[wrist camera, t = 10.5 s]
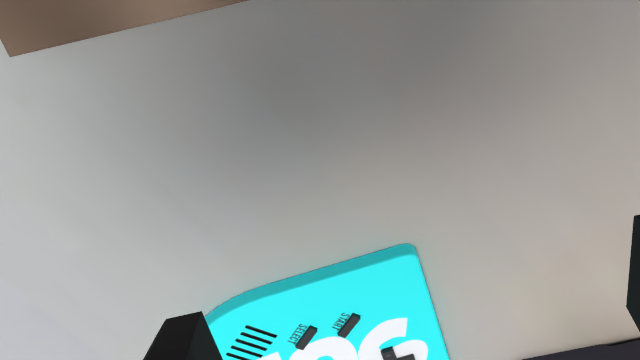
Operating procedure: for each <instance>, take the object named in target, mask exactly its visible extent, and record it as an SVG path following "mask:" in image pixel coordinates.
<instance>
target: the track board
mask: <svg viewBox="0 0 640 360" xmlns="http://www.w3.org/2000/svg"><path fill="white" fill-rule="evenodd" d="M244 1H248V0H0V39H1V41H2V43H3V45H4V47H5V49H6V51H7V53H8V54H9V56H10V57H13V56H17V55H21V54H25V53H30V52H34V51H38V50H42V49H46V48H51V47H55V46H59V45H63V44H67V43H72V42H76V41H80V40H84V39H88V38H93V37H97V36H101V35H105V34H109V33H114V32H118V31H122V30H126V29H130V28H135V27H139V26H143V25H147V24H151V23H156V22H160V21H164V20H168V19H172V18H177V17H181V16H185V15H189V14H193V13H198V12H202V11H206V10H210V9H214V8H219V7H223V6H227V5H231V4H235V3H240V2H244Z"/></svg>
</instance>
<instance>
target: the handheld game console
mask: <svg viewBox="0 0 640 360" xmlns="http://www.w3.org/2000/svg"><path fill="white" fill-rule="evenodd" d="M205 320H206V322H207V325H208V327H209V329H210V331H211V334H212V336H213V338H214V340H215V343H216V345H217V347H218V349H219V352H220V354H221V356H222V359H223V360H450V359H449V356H448V353H447V349H446V346H445V343H444V340H443V336H442V333H441V330H440V327H439V323H438V320H437V317H436V314H435V310H434V307H433V304H432V301H431V297H430V294H429V291H428V288H427V285H426V281H425V278H424V275H423V272H422V268H421V265H420V262H419V259H418V255H417V252H416V250H415V247H414V246H413V245H411V244H401V245H397V246H394V247H391V248H387V249H384V250H381V251H377V252H374V253H371V254H367V255H364V256H361V257H357V258H354V259H351V260H347V261H344V262H341V263H337V264H334V265H331V266H327V267H324V268H321V269H317V270H314V271H311V272H307V273H304V274H301V275H297V276H294V277H291V278H287V279H284V280H281V281H277V282H274V283H271V284H267V285H264V286H261V287H259V288H256V289H253V290H250V291H247V292H245V293H243V294H241V295H238V296H236V297H234V298H232V299H230V300H228V301H227V302H225V303H223V304H222V305H220V306H218V307H217V308H216V309H214V310H213V311H212V312H211V313H210V314H208V315H207V316H206V317H205Z"/></svg>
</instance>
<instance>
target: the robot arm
mask: <svg viewBox="0 0 640 360" xmlns="http://www.w3.org/2000/svg"><path fill="white" fill-rule="evenodd" d="M626 307H627V309H628V311H629V313H630V315H631V316H632V318H633V320H634V322H635V324H636V326H637V328H638V329H639V331H640V215H636V216H634V221H633V233H632V245H631V257H630V269H629V281H628V293H627V305H626ZM143 360H223V359H222V356H221V354H220V352H219V349H218V347H217V345H216V343H215V340H214V338H213V336H212V334H211V331H210V329H209V327H208V325H207V322H206V320H205V318H204V316H203V313H202V311H201V312H196V313H192V314H187V315H183V316H178V317H174V318H169V319H166V320H165V322H164V323H163V325H162V327H161V328H160V330H159V332H158V334H157V335H156V337H155V339H154V341H153V343H152V345H151V346H150V348H149V350H148V352H147V354H146V355H145V357H144V359H143Z"/></svg>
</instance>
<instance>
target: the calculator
mask: <svg viewBox="0 0 640 360" xmlns="http://www.w3.org/2000/svg"><path fill="white" fill-rule="evenodd" d="M523 360H640V340H636V341H632V342H627V343H623V344H619V345H614V346H607V345H595V346H589V347H584V348H579V349H574V350H569V351H564V352H559V353H554V354H548V355H543V356H538V357H533V358H528V359H523Z"/></svg>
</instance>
